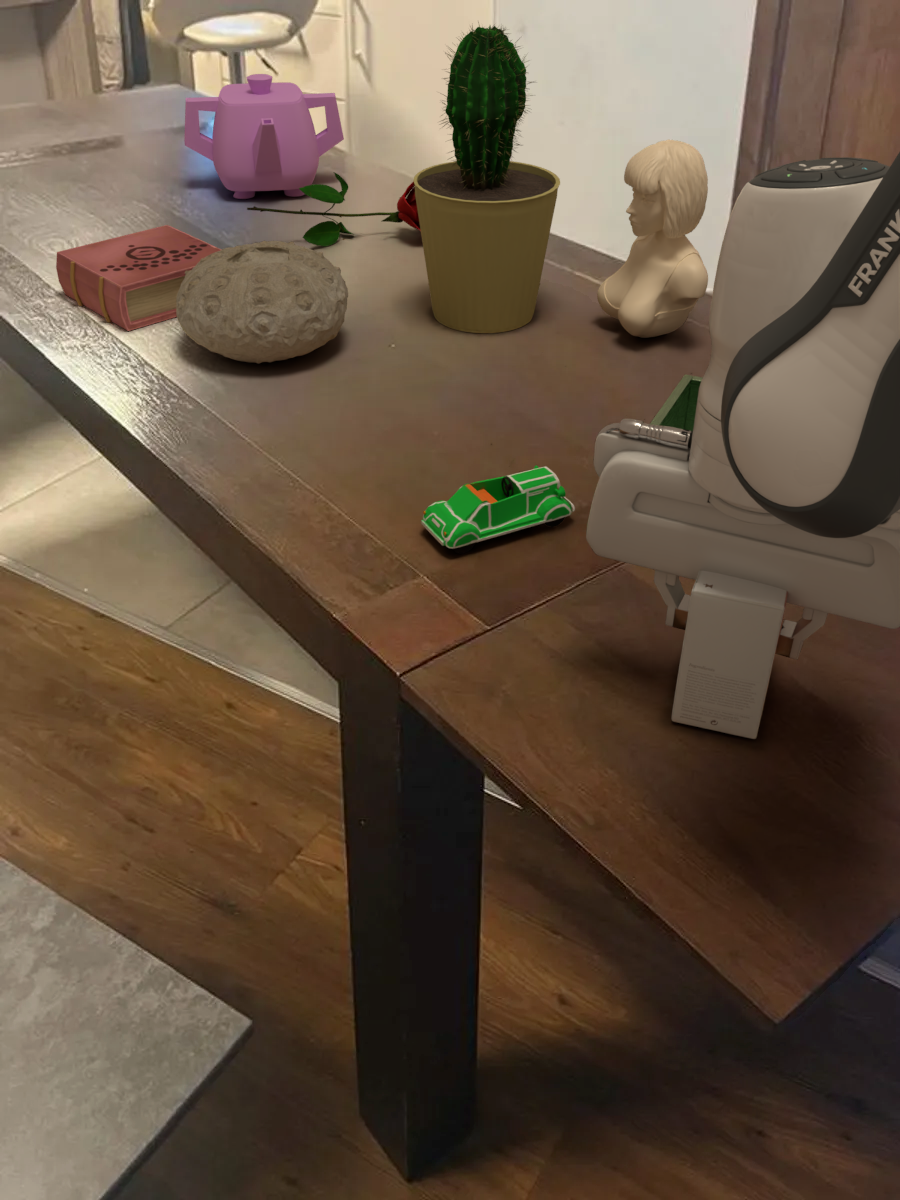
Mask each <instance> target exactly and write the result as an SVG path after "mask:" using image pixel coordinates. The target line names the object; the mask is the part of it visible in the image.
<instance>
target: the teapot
mask: <svg viewBox="0 0 900 1200" xmlns="http://www.w3.org/2000/svg"><path fill="white" fill-rule="evenodd" d="M337 101H338V100H337V97H336V93H335V92H323V93H322V92H321V93H320V92H319V93H303V91H302V89H301V88H300V87H299V86H298V85H297V84H296V83H293V82H288V81H287V82H283V81H282V82H273V76H272V75H270V74H266V73H253V74H249V75H247V76H246V82H245V83H229V84H226V85H223V87H222V88H221V89H220V91H219V94H218V96H201V97H199V96H198V97H185V107H184V108H185V109H184V114H185V115H184V139H183V141H184V146H185V147H187V148H189V149H190V150H192V151H194V152H195V153H197V154H199V155H201V156H203V157H204V158H207V159H208V160H210V161H211V162H212V163H213V166H214V169H215V172H216V174H217V176H218V178H219V179H220V181H221V183H222V185H223V186H224V188H225V189H226V190H229V191H231V192H234V194H233V198H235V199H239V200H246V199H252V198H254V197H255V196H256V195H255V194H256V192H270V191H272V192H273V191H283V192H284V195H285V196H287V197H292V198H293V197H295V198H296V197H302V196H304V195H306V194H304V193H303V192H302V191H301V190H300V189H299V188H302V187H305V186H308V185H313V183H314V180H315V178H316V176H317V171H318V168H319V163H320V157H322V156H323V155H324V154H325V153H327V152H329V151H330V150H332V149H333V148H334V147H335V146H337V145H338V144H340V143H341V142H343V141H344V139H345V138H344V131H343V127H342V122H341V118H340V112H339V106H338V102H337ZM321 107H324V112H325V122H326V128H324V129H323V130H321V131H320V132H318V133H317V134H316V129H315V125H314V122H313V118H312V115H311V112H310V109H316V108H321ZM199 111H202V112H211V113H214V119H213V126H212V138H211V137H209V136H207V135H205V134H203V133H201V132H200V131H201V130H200V129H201V128H200V113H199Z"/></svg>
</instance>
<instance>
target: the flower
mask: <svg viewBox="0 0 900 1200" xmlns="http://www.w3.org/2000/svg"><path fill="white" fill-rule="evenodd" d="M333 174H334V177H335V178H336V180H337V181H338V182H339V183H340V187H341V190H340V191H339V190H337V189H336V188H334V187H333V186H330V185H327V184H323V183H322V184H321V183H318V184H315V183H314V184H312V185H308V186H305V187H302V188H299V189H300V190H301V191H302V192H303V193H304V194H305V195H306V196H308V197H309V198H311V199H314V200H317V201H320V202H323V203H327V204H328V203H329V204H332V205H331V207H329V208H328V209H326V210H325V211H324V212H321V211H303V209H300V210H299V211H298V210H285V209H278V208H277V209H276V208H268V207H267V208H265V207H257V206H255V205H254V206H253V207H246V210H247V211H258V212H259V211H260V212H261V213H262V212H270V213H282V214H290V215H308V216H309V215H310V216H312V215H313V216H322V217H324V218H326V219H330V220H326V221H322V222H319V223H317V224H315V225H313V226H311V227H310V228H309V229H307V231H305V233H304V234H303V235H302V239H304V240H305V241H306V242H308V243H309V244H312V245H314V246H320V247H329V246H332V245H334V244H336V243H337V242H338V241H339V239H340V235H341V234H345V235H355V234H354V233H352V232H351V231H349V230H348V229H347V228H346V227H345V225H344V224H343V222H342V221H339V222H338V221H337V220H335V219H333V218H331V217H339V218H342V217H347V218H349V217H350V218H356V217H371V216H372V217H374V216H387V217H385V218H384V219H382V220H381V221H380V222H385V223H386V222H388V223H403V222H404V223H405V224H407V225H408V226H410V227H412V228H413V229H416V230H418V231H419V232H421V229H420V223H419V216H418V210H417V203H416V197H415V184H414V182H413V181H412V182H411V183H410V184H409V185H408V186H407V187H406V188H405V191H404V193H403V194H402V195H401V196H400V197H399V198H398V200H397V203H396V209H397V211H395V212H393V211H392V212H367V213H366V212H365V213H364V212H363V213H339V212H336V213H335V212H330V211H331V210H332V209H333V208H334V207H335V205H336V204H337V205H338V204H339V205H340V204H342V203H344V202H345V201H346V199H345V196H346V194H347V193H348V190H349V184H348V182H347V181H346V180H345V179H344V178H343V176H341V175H339V174H338V173H336V172H335V171H333ZM328 216H329V217H328Z"/></svg>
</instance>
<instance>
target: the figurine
mask: <svg viewBox="0 0 900 1200" xmlns="http://www.w3.org/2000/svg"><path fill="white" fill-rule="evenodd" d="M623 181H624V183H625V184H626V185H628V186H629V187H631V188H632V189H631V191H632V192H633V193H632V198H633V199H632V200H631V201H630V204H629V206H627V208H626V210H625V213H627V214H628V215H629V217H628V220H629V223H630V226H631V230H632V233H633V235H634V236H635V239H634V240H633V242H632V244H631V246H630V250H629V254H628V256H627V258H626V260H625V262H624V263H623V265H622V266H621V267H620V268H619V269H617V270H616V271H615V272H614V273H613V274H612V275H609V276H608V277H607V278H606V279H605V280H604V281H603V282H602V283H601V284H600V286H599V287H598V289H597V292H596V297H597V302H598V304H599V306H600V308H601V309H602V311H603V312H604V313H605V314H607V315H608V316H610V317H612V318H614V319H617V320H618V321H619V323H620V325H621V326H622V328H623V329H624V330H625V331H626V332H627V333H628V334H630V336H633V337H639V338H640V339H650V338H655V337H659V336H663V335H666V334H669V333H672V332H675V331H676V330H678V329H680V328H681V327H682V326H683V325H684V324H685V322H686V321H687V320H688V318H689V315H690V313H691V312H692V311H693V309H694V307H695V306H696V304H697V302H698V301H699V299H701V298H704V297H705V294H706V292H707V289H708V284H709V273H708V270H707V268H706V266H705V264H704V262H703V259H702V257H701V255H700V252H699V251H698V250H697V249H696V247H695V246H694V245H693V243H692V242H691V241H690V240H689V238H688V237H687V235H688V234H690V233H692V232H694V230H696V228H697V227H698V225H699V224H700V222H701V220H702V217H703V216H704V213H705V210H706V203H707V199H708V192H709V187H708V184H709V179H708V173H707V169H706V165H705V161H704V158H703V155H702V154H701V153H700V151H699V150H698V149H697V148H696V147H694V146H693V145H691V144H690V143H687V142H684V141H681V140H676V139H666V140H660V141H657V142H656V143H653V144H650V145H648V146H646V147H644V148H643V149H641V150H640V151H638V152H637V153H635V154H634V155H633V156H632V157H630V158H629V160H628V162H627V164H626V166H625V170H624V174H623Z"/></svg>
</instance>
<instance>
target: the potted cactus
mask: <svg viewBox="0 0 900 1200" xmlns="http://www.w3.org/2000/svg"><path fill="white" fill-rule="evenodd" d="M477 23H478V26H477V27H476V28H474V26H473V24H471V25H469V27H470V30H469V32H468V33H467V34H465V33H464V32H463V31H462V30H460V31H461V34H460V36H461V37H462V38H461V37H456V39H458V41H459V44H458V45H457V44H454V43H453V45H454V46H455V47H457V48H456V50H455V51H454V50H453V49H452V48H451V47H449V46H448V45H446V44H445V46H446V47H447V48H446V49H448V50H449V51H450V52H451V53H453V54H450V52H449V51H447V52H448V53H447V52H446V51H444V54H445V55H446V56H447V58H448V59H449V61H450V62H451V63H450V64H449V63H448V65H450V68H449V69H450V70H449V71H446V68H443V69H442V71H445V72H446V73H448V74H449V75H448V76H449V77H444V78H443V77H442V80H445V81H446V85H447V93H446V95H445V94H443V93H441V92H439V91H437V93H439V94H440V95H443V96H444V97H446V100H445V102H446V103H447V104H446V103H445V102H444V100H443V99H441V100H440V103H441V104H442V105H445V106H444V107H441V109H442V110H443V112H444V113H443V114H441V115H440V117H442V116H443V115H444V114H446V116H445V117H444V118H443V119H442V120H440V121H438V123H440V122H441V123H440V124H438V126H439V125H442V124H444V125H443V126H442V128H444V127H445V126H447V129H450V130H452V133H448V135H449V136H450V135H451V136H452V137H451V139H448V140H446V141H445V143H446V142H448V141H452V146H453V148H454V150H451V151H449V152H446V153H445V154H449V153H452V152H453V153H454V156H451V157H449V158H448V160H450V159H452V158H454V157H455V160H454V159H453V160H451V161H449V162H444V163H438V164H433V165H431V166H429V167H426V168H423V169H421V170H419V171H418V172H417V173H416V174H415V175H414V177H413V181H412V182H414V184H415V186H414V187H415V197H416V203H417V210H418V216H419V223H420V229H421V231H420V236H421V242H422V247H423V256H424V261H425V269H426V275H427V282H428V288H429V296H430V302H431V310H432V313H433V316H434V318H435V320H436V321H437V322H438V323H440V324H441V325H443V326H445V327H447V328H449V329H452V330H457V331H460V332H465V333H473V334H497V333H506V332H510V331H514V330H517V329H519V328H522V327H524V326H526V325H527V324H529V323H530V322H531V321H532V319H533V317H534V314H535V310H536V304H537V299H538V294H539V290H540V285H541V280H542V275H543V269H544V263H545V260H546V254H547V248H548V243H549V239H550V233H551V228H552V223H553V219H554V213H555V208H556V203H557V199H558V189H559V187H560V186H561V178H559V176H558V175H557V174H556V173H554V172H552V171H551V170H549V169H547V168H544V167H542V166H538V165H535V164H530V163H526V162H520V161H513V158H514V155H513V152H514V153H517V154H519V152H517V151H516V149H518V148H519V147H517V146H520V147H522V146H523V144H521V143H520V144H519V143H518V140H520V139H519V137H521V138H523V136H522V135H521V134H519V133H516V132H522V130H520V128H517V127H518V126H521V125H522V124H524V120H523V119H524V116H523V115H524V114H525V116H527V114H528V112H529V113H531V111H530V108H529V107H530V104H526V103H527V102H530V101H531V99H530V98H529V97H533V96H535V94H529V97H528V94H527V93H526V92H528V93H529V91H528V90H529V88H527V85H530V84H533V83H538V82H537V81H536V80H534V81H529V82H527V78H528V77H527V76H526V75H527V74H528V72H527V67H529V66H530V64H528V65H527V66H526V65H525V64H526V63H527V62H529V61H532V59H529V60H527V58H526V57H527V55H528V53H529V52H527V54H526V55H524V56H523V57H522V58H521V56H520V55H519V52H518V51H519V50H521V49H523V48H524V47H523V46H522V47H521V45H519V46H517V43H518V41H519V40H520V39H521V38H522V36H523V35H521V36H520V37H519V38H518V39H517V40H516V41H515V42H514V43H513V42H512V40H511V39H509V38H510V37H509V36H510V35H511V33H509V32H508V33H507V32H506V31H508V30H510V28H509V29H507V28H506V27H505V26H504V24H502V23H501V24H500V25H498V26H497V27H496V25H495V24H496V23H497V22H496V23H495V24H493V25H492V26H491V25H489V26H488V27H486V25H485V26H481V25H480V22H479V21H477ZM500 26H501V27H502V28H499V27H500ZM505 32H506V33H505ZM463 36H464V37H463ZM520 47H521V48H520ZM529 99H530V100H529ZM526 106H527V108H526ZM528 106H529V107H528ZM521 118H522V119H521ZM440 130H441V128H439V130H438V131H440ZM516 135H518V137H516ZM514 144H515V145H517V146H514Z"/></svg>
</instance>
